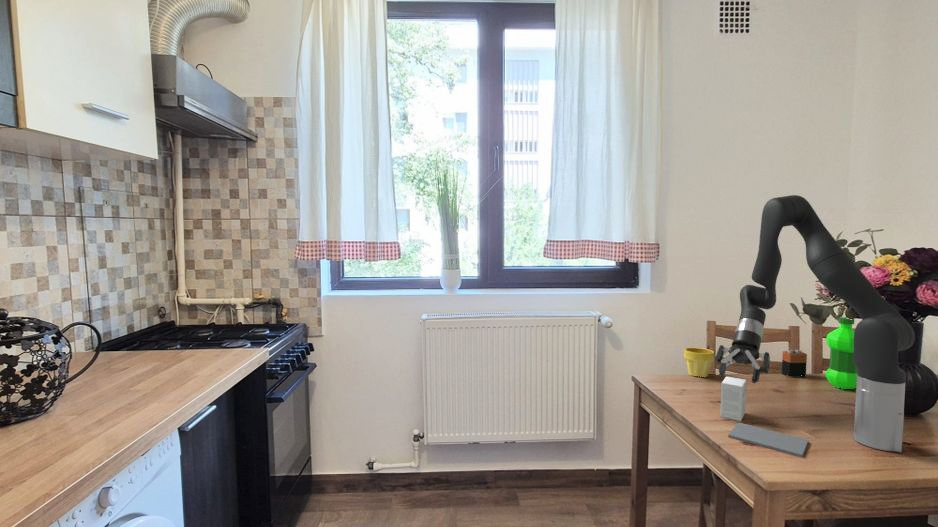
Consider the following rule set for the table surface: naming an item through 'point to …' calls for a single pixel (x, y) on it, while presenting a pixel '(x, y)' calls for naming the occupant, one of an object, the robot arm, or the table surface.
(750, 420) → the table surface
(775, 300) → the robot arm
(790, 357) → the battery
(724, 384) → the small box
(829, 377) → the plastic bottle
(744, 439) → the mat
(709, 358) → the plant pot
